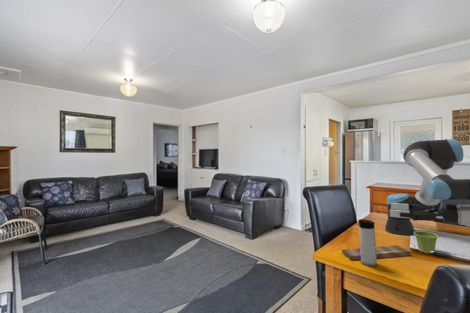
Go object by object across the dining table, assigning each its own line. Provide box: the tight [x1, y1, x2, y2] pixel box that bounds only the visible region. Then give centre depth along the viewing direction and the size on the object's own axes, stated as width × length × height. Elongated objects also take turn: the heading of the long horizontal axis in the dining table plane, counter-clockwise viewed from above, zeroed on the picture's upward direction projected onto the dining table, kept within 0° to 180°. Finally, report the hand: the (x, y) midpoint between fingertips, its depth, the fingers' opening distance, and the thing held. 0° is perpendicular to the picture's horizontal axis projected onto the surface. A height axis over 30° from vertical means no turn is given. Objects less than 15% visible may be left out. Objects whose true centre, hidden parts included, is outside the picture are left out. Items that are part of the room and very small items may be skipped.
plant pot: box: [413, 230, 439, 254], centre depth 116 cm, size 9×9×9 cm
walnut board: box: [341, 245, 412, 261], centre depth 115 cm, size 30×8×2 cm, turn 94°
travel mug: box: [358, 218, 378, 267], centre depth 107 cm, size 6×7×20 cm
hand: (390, 209), depth 101 cm, fingers open, 13 cm apart
